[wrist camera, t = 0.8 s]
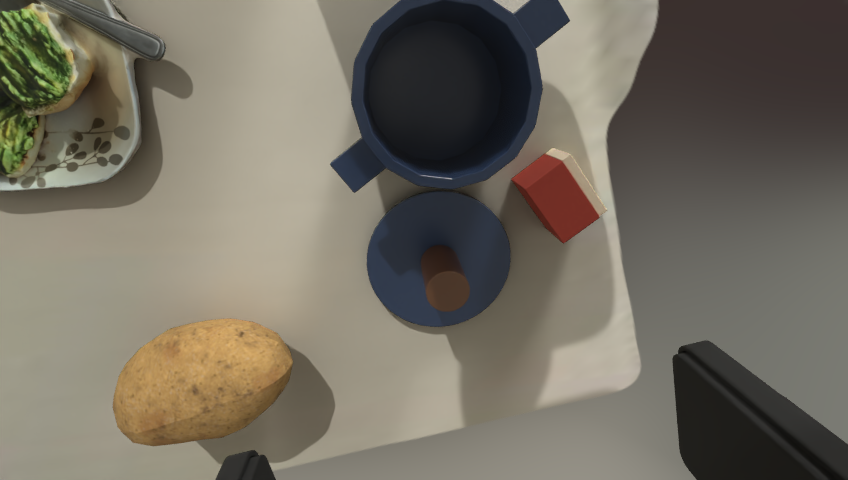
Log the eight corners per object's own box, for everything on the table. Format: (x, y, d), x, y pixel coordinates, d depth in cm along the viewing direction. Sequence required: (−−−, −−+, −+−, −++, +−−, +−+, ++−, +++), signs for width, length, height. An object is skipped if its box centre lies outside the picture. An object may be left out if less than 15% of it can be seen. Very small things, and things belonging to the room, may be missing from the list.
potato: (322, 369, 42) (307, 430, 35) (180, 416, 43) (135, 487, 35) (278, 277, 39) (251, 322, 32) (126, 329, 40) (64, 386, 32)
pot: (302, 102, 35) (276, 106, 27) (479, -49, 33) (509, -94, 25) (396, 214, 38) (398, 248, 30) (563, 85, 36) (613, 83, 28)
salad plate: (153, -81, 31) (114, -109, 26) (199, 182, 36) (173, 195, 32) (-158, -82, 30) (-252, -111, 25) (-61, 191, 35) (-125, 205, 31)
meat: (510, 179, 38) (524, 189, 34) (552, 147, 38) (571, 154, 34) (546, 228, 40) (563, 243, 36) (586, 198, 39) (609, 211, 35)
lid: (337, 248, 39) (327, 281, 32) (452, 158, 37) (466, 173, 31) (425, 345, 42) (432, 393, 36) (534, 267, 41) (562, 302, 34)
